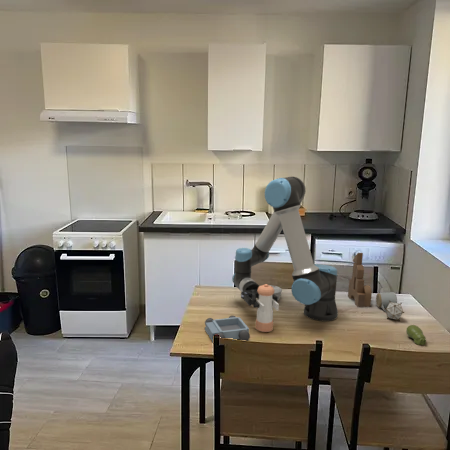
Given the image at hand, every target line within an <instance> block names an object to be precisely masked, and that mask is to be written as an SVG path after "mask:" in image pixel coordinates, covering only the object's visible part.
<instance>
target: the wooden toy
mask: <svg viewBox="0 0 450 450" xmlns="http://www.w3.org/2000/svg"><path fill="white" fill-rule="evenodd" d="M363 256H364V253H363V252H357V253H356V255H355V256H354V257H353V259H352V262H353V263H352V274H351V278H350V279H348V280H349V281H348V292H347V297H348V298H349V299H350V300H354V305H355V306H356V307H357V308H366V307H367V308H368V307H369V308H370V307H371V305H372V295H373V294H372V293H373V291H372V288H371V286H370V285H368V284H367V285H365V279H364V274H365V267H364V265H363Z"/></svg>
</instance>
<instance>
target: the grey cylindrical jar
mask: <svg viewBox="0 0 450 450" xmlns="http://www.w3.org/2000/svg"><path fill="white" fill-rule="evenodd" d="M389 300H390V301H391V302H393V303H398V297H397V294H396V293H395V292H394V291H393V292H391V291H389V292H378V293H377V294H376V295H375V303H376V306H377V308H380V309H382V310H383V311H384V312H385V313H387V312H386V310H385V309H386V308H387V306H388V305H389V303H390V302H389Z"/></svg>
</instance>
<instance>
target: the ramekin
mask: <svg viewBox="0 0 450 450" xmlns="http://www.w3.org/2000/svg"><path fill="white" fill-rule="evenodd" d="M268 285H269V286H272V287H273V288H274V291H275V292H274V295H276V296H277V297H278V301H280V299H281V295H282V293H283V289H282V287H279V286H277V285H270V284H268Z"/></svg>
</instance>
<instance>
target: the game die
mask: <svg viewBox="0 0 450 450" xmlns="http://www.w3.org/2000/svg"><path fill="white" fill-rule="evenodd" d="M389 302H390V303H389V305H388V306H387V308H385V310H386V312H385V313H386V316H387V318H386V319H387V320H388V319H393V320H397V321H398V322H401V320H400V318H401V317H402V315H403V314H404V313H405V312H406V311H404V310H403V307H402V303H403V302H400V303H398V302H397V303H393V302H391V301H390V300H389Z"/></svg>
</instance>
